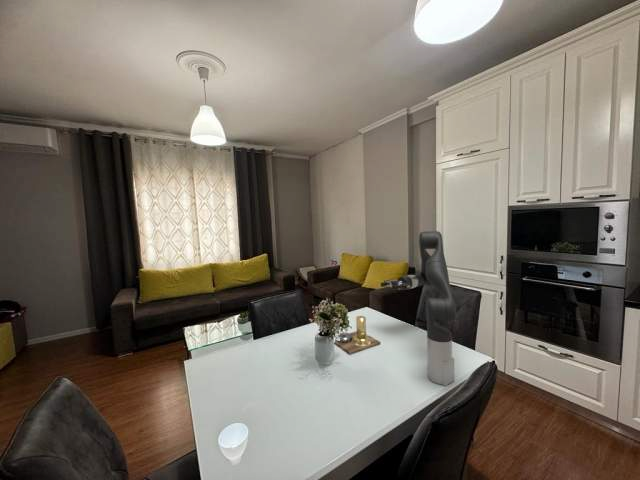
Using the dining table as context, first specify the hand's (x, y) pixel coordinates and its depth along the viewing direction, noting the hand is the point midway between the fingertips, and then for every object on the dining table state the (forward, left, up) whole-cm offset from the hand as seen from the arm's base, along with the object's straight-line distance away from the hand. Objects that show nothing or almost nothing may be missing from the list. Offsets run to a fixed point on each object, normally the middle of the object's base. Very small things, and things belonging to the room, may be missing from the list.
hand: (386, 286), depth 139 cm
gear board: (+8, +16, -30) cm, 35 cm away
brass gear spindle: (+5, +14, -29) cm, 32 cm away
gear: (+12, +21, -29) cm, 37 cm away
